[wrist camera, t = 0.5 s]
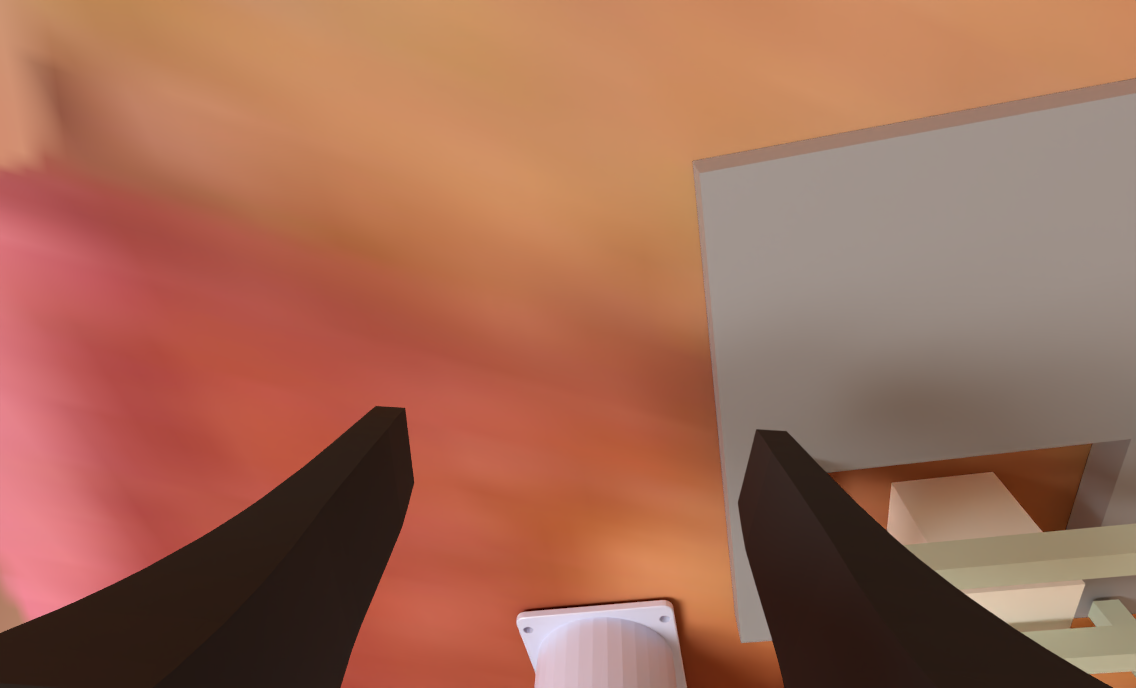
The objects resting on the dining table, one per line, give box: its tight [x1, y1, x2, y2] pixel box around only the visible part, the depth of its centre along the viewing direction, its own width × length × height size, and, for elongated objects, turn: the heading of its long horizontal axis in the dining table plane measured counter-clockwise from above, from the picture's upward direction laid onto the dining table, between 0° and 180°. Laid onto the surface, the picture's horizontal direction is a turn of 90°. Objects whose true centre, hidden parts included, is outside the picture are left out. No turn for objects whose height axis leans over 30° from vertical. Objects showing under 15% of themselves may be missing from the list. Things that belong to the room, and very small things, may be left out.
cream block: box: [887, 472, 1085, 632], centre depth 24 cm, size 4×4×6 cm
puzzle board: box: [693, 78, 1136, 643], centre depth 23 cm, size 23×18×2 cm
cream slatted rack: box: [903, 524, 1136, 677], centre depth 21 cm, size 11×14×7 cm
